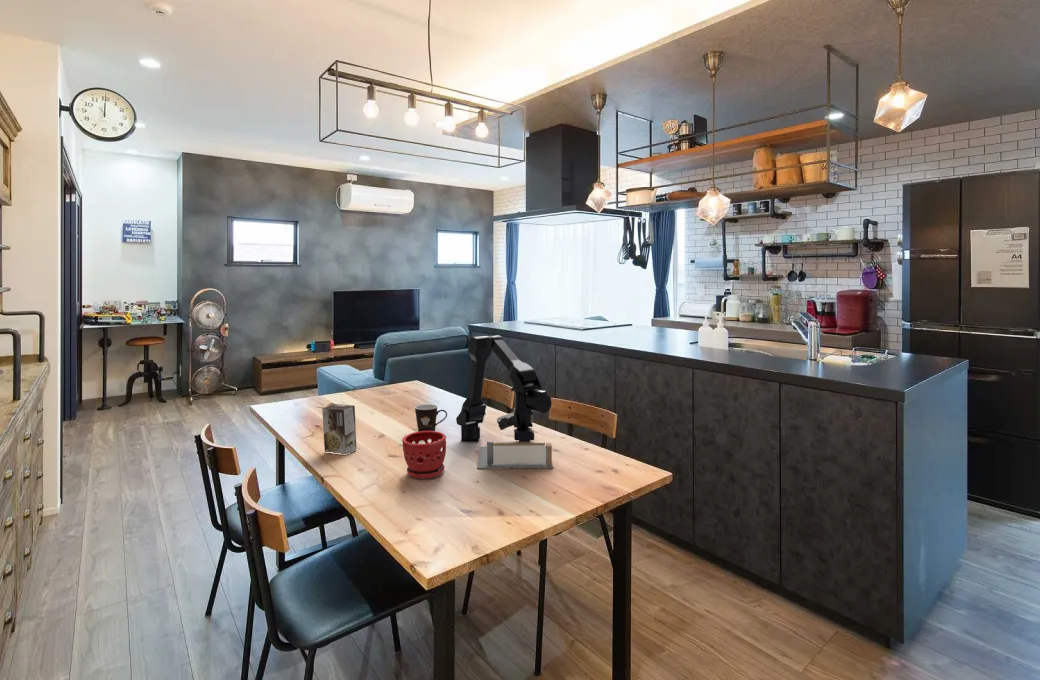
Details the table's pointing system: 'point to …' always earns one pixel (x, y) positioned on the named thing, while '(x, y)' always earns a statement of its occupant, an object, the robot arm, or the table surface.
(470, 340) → the robot arm
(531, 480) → the table surface
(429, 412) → the coffee mug
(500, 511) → the table surface
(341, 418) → the coffee box
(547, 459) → the gate frame
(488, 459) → the gate
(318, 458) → the table surface
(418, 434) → the plant pot
